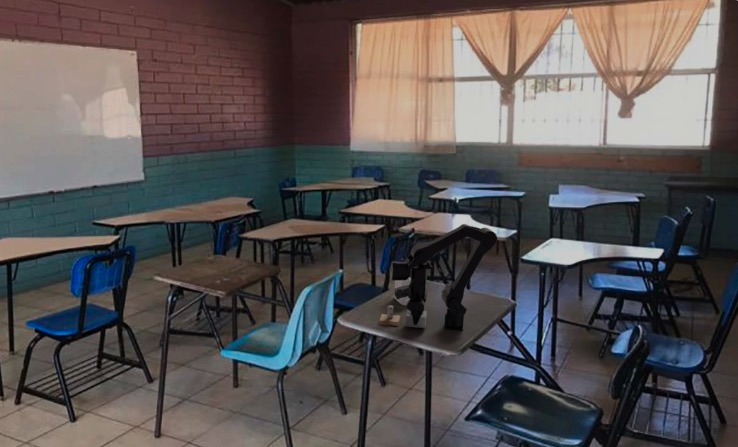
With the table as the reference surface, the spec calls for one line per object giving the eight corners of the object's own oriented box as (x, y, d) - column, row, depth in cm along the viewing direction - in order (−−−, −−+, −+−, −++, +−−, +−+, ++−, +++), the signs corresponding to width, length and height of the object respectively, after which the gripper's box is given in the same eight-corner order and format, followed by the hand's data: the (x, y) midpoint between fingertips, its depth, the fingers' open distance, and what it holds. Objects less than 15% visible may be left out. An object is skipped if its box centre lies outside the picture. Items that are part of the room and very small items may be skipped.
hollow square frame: (426, 321, 232) (426, 311, 231) (424, 328, 225) (425, 317, 224) (407, 319, 233) (407, 309, 232) (405, 326, 226) (406, 315, 225)
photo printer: (411, 305, 254) (412, 275, 251) (401, 305, 252) (402, 276, 250) (402, 297, 263) (404, 269, 261) (392, 297, 262) (394, 269, 259)
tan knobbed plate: (400, 319, 237) (400, 304, 235) (398, 325, 230) (398, 310, 229) (381, 317, 238) (382, 302, 236) (379, 324, 231) (380, 308, 230)
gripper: (398, 271, 236) (397, 310, 239) (393, 285, 218) (391, 328, 221) (428, 274, 234) (426, 313, 238) (425, 288, 216) (422, 331, 219)
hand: (416, 321), depth 229 cm, fingers closed on hollow square frame, 7 cm apart
